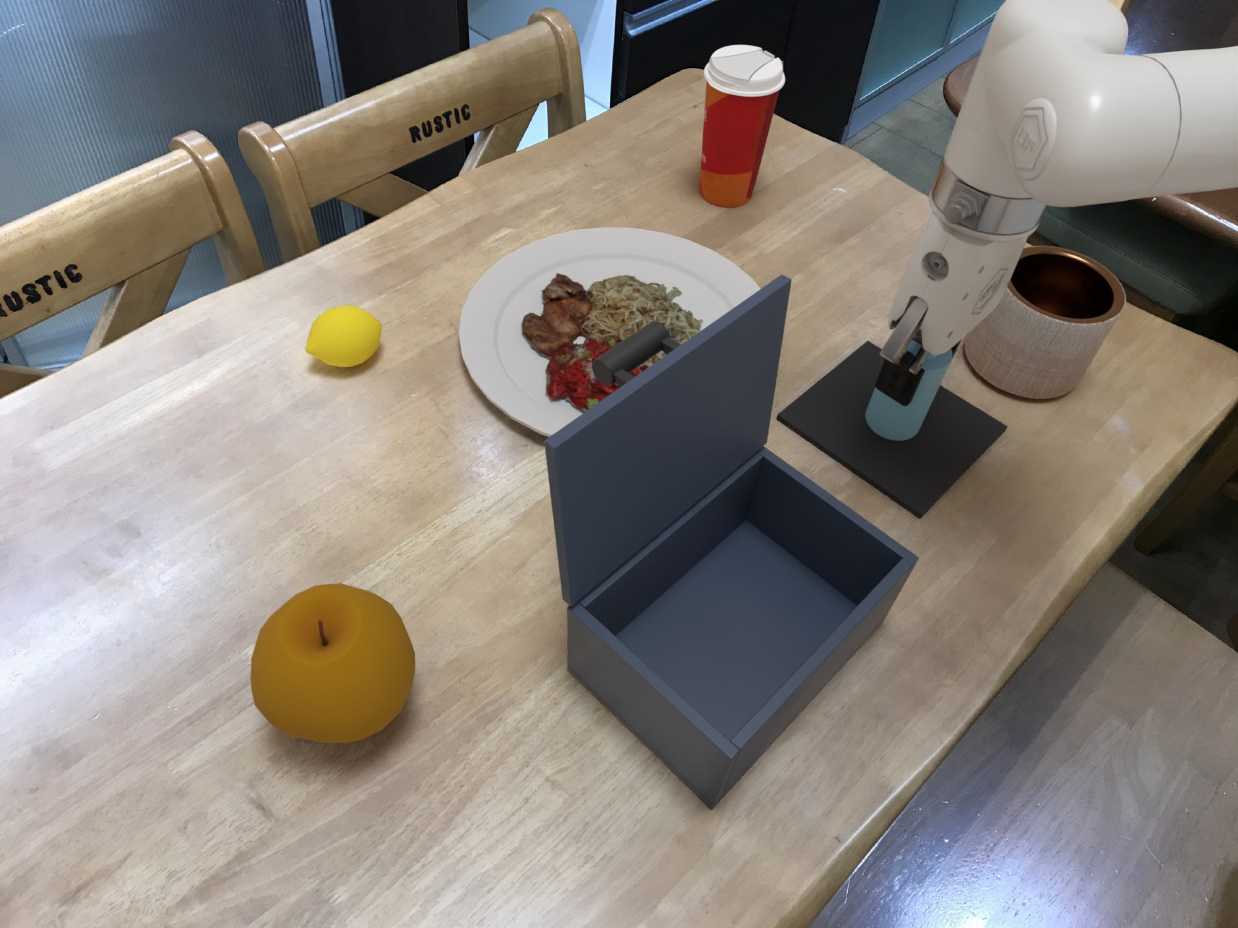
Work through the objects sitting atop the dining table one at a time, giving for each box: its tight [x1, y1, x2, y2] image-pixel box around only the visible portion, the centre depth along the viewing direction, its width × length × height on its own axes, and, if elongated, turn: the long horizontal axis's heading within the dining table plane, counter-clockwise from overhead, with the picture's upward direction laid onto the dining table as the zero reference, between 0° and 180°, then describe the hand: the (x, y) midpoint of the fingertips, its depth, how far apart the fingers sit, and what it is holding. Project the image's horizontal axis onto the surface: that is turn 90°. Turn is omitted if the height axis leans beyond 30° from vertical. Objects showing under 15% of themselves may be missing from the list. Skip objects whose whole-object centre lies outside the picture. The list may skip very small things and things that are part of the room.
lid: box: [544, 274, 793, 606], centre depth 56 cm, size 14×20×5 cm
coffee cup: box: [699, 44, 786, 208], centre depth 94 cm, size 8×8×15 cm
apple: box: [250, 582, 416, 744], centre depth 56 cm, size 10×10×12 cm
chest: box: [566, 445, 920, 810], centre depth 61 cm, size 14×20×9 cm
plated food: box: [458, 226, 781, 438], centre depth 83 cm, size 30×30×3 cm
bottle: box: [865, 327, 953, 441], centre depth 74 cm, size 5×5×11 cm
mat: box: [775, 340, 1008, 519], centre depth 78 cm, size 15×14×1 cm
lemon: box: [304, 304, 383, 368], centre depth 79 cm, size 7×5×5 cm
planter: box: [964, 245, 1127, 400], centre depth 81 cm, size 11×11×10 cm
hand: (911, 377), depth 74 cm, fingers closed on bottle, 4 cm apart
